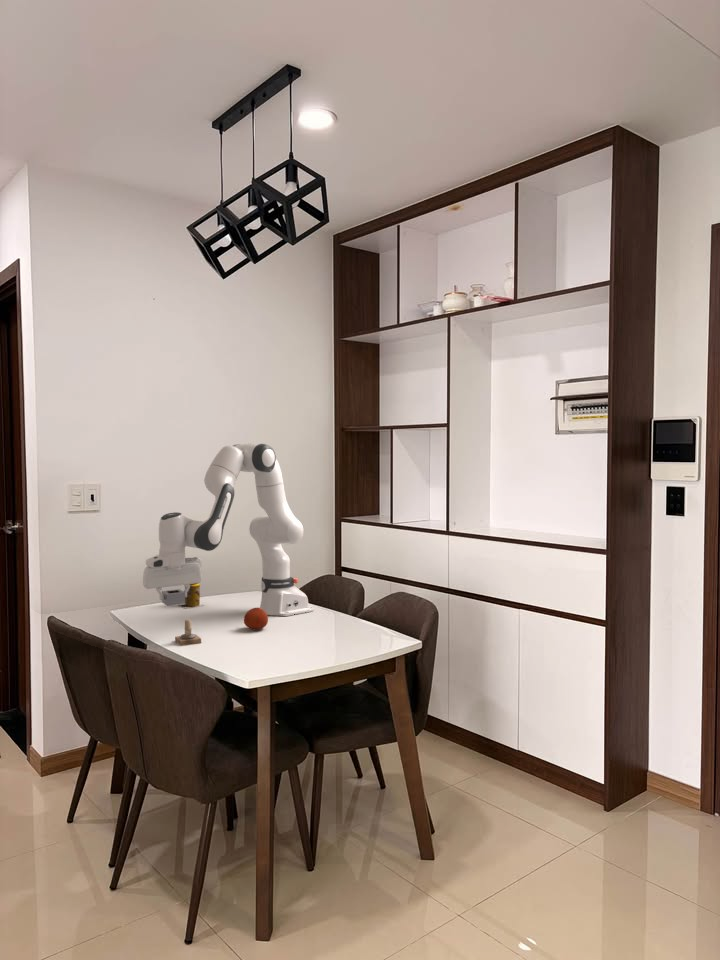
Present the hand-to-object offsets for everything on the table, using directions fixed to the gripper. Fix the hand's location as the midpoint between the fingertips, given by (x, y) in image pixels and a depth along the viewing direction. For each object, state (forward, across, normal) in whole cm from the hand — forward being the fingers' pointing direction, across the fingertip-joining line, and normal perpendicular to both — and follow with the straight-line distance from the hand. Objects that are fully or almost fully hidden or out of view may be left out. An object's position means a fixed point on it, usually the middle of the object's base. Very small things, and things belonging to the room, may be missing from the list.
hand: (173, 598), depth 259 cm
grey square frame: (+2, 0, 0) cm, 2 cm away
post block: (+14, -2, +8) cm, 16 cm away
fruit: (+15, -29, +3) cm, 33 cm away
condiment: (+15, -20, -47) cm, 53 cm away
